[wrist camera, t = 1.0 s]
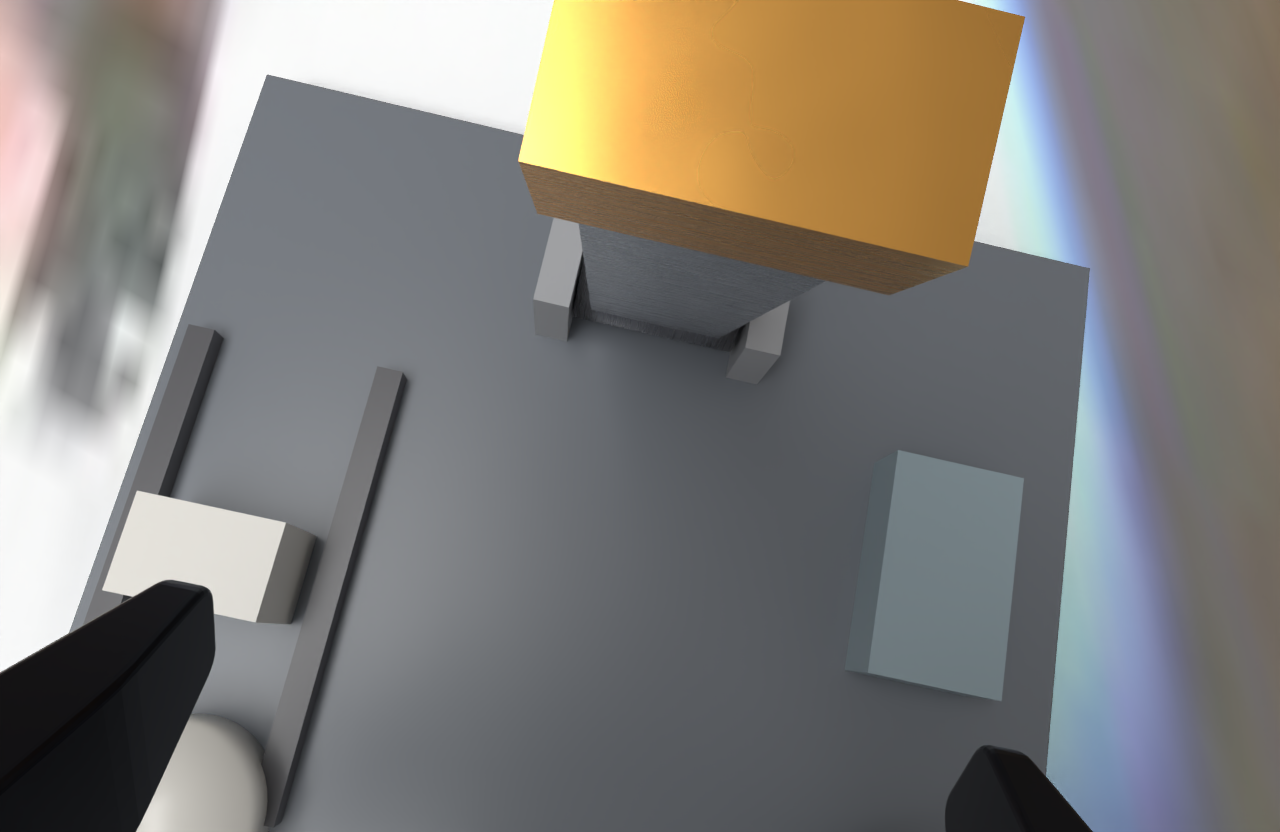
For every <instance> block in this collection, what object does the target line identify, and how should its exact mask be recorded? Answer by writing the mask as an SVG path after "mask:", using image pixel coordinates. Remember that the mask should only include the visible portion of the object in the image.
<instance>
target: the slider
mask: <svg viewBox="0 0 1280 832" xmlns="http://www.w3.org/2000/svg"><path fill="white" fill-rule="evenodd" d="M316 537H317V536H315V535H313V534H311V533H309V532H306V531H304V530H302V529H299V528H297V527H295V526H293V525H290V524H288V523H286V522H281V521H276V520H272V519H267V518H262V517H258V516H253V515H248V514H244V513H239V512H235V511H230V510H225V509H221V508H216V507H211V506H207V505H202V504H197V503H193V502H188V501H183V500H179V499H174V498H169V497H165V496H160V495H156V494H151V493H146V492H142V491H137V492H136V494H135V497H134V500H133V503H132V506H131V509H130V512H129V514H128V517H127V520H126V523H125V526H124V529H123V532H122V534H121V537H120V540H119V543H118V546H117V549H116V552H115V555H114V557H113V560H112V563H111V566H110V569H109V572H108V575H107V577H106V580H105V583H104V586H103V589H102V590H103V591H108V592H113V593H118V594H122V595H127V596H132V597H133V596H135V595H137V594H139V593H140V592H142V591H144V590H146V589H147V588H149V587H151V586H153V585H154V584H156V583H158V582H161V581H164V580H177V581H182V582H187V583H192V584H197V585H201V586H205V587H207V588H208V589H209V590H210V591H211V593H212V596H213V604H214V614H217V615H222V616H227V617H232V618H237V619H241V620H246V621H251V622H256V623H274V624H291V621H292V618H293V615H294V611H295V608H296V604H297V601H298V598H299V594H300V591H301V588H302V584H303V581H304V577H305V574H306V571H307V567H308V564H309V560H310V557H311V554H312V550H313V547H314V544H315V540H316Z"/></svg>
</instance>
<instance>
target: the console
mask: <svg viewBox="0 0 1280 832" xmlns="http://www.w3.org/2000/svg"><path fill="white" fill-rule="evenodd" d="M523 138H524V135H521V134H517V133H513V132H509V131H504V130H500V129H496V128H492V127H488V126H483V125H479V124H475V123H471V122H466V121H462V120H458V119H454V118H449V117H445V116H441V115H437V114H432V113H428V112H424V111H420V110H415V109H411V108H407V107H403V106H398V105H394V104H390V103H386V102H381V101H377V100H373V99H369V98H365V97H360V96H356V95H352V94H348V93H343V92H339V91H335V90H331V89H326V88H322V87H318V86H314V85H309V84H305V83H301V82H297V81H292V80H288V79H284V78H280V77H275V76H271V75H267V76H266V79H265V82H264V85H263V87H262V90H261V93H260V96H259V99H258V102H257V104H256V107H255V110H254V113H253V116H252V118H251V121H250V124H249V127H248V130H247V133H246V135H245V138H244V141H243V144H242V147H241V149H240V152H239V155H238V158H237V161H236V164H235V166H234V169H233V172H232V175H231V178H230V180H229V183H228V186H227V189H226V192H225V195H224V197H223V200H222V203H221V206H220V209H219V212H218V214H217V217H216V220H215V223H214V226H213V228H212V231H211V234H210V237H209V240H208V243H207V245H206V248H205V251H204V254H203V257H202V259H201V262H200V265H199V268H198V271H197V274H196V276H195V279H194V282H193V285H192V288H191V291H190V293H189V296H188V299H187V302H186V305H185V307H184V310H183V313H182V316H181V319H180V322H179V324H178V327H177V330H176V333H175V336H174V338H173V341H172V344H171V347H170V350H169V353H168V355H167V358H166V361H165V364H164V367H163V369H162V372H161V375H160V378H159V381H158V384H157V386H156V389H155V392H154V395H153V398H152V401H151V403H150V406H149V409H148V412H147V415H146V417H145V420H144V423H143V426H142V429H141V432H140V434H139V437H138V440H137V443H136V446H135V448H134V451H133V454H132V457H131V460H130V463H129V465H128V468H127V471H126V474H125V477H124V480H123V482H122V485H121V488H120V491H119V494H118V496H117V499H116V502H115V505H114V508H113V511H112V513H111V516H110V519H109V522H108V525H107V527H106V530H105V533H104V536H103V539H102V542H101V544H100V547H99V550H98V553H97V556H96V558H95V561H94V564H93V567H92V570H91V573H90V575H89V578H88V581H87V584H86V587H85V590H84V592H83V595H82V598H81V601H80V604H79V606H78V609H77V612H76V615H75V618H74V621H73V623H72V626H71V629H70V632H72V631H74V630H75V629H77V628H79V627H81V626H82V625H84V624H86V623H88V622H89V621H91V620H93V619H95V618H96V617H98V616H100V615H102V614H103V613H105V612H107V611H109V610H111V609H112V608H114V607H116V606H118V605H119V604H121V603H123V602H125V601H126V600H128V599H130V598H132V596H127V595H122V594H118V593H113V592H108V591H103V590H102V589H103V586H104V583H105V580H106V577H107V575H108V572H109V569H110V566H111V563H112V560H113V557H114V555H115V552H116V549H117V546H118V543H119V540H120V537H121V534H122V532H123V529H124V526H125V523H126V520H127V517H128V514H129V512H130V509H131V506H132V503H133V500H134V497H135V494H136V492H137V491H142V492H146V493H151V494H156V495H160V496H165V497H169V498H174V499H179V500H183V501H188V502H193V503H197V504H202V505H207V506H211V507H216V508H221V509H225V510H230V511H235V512H239V513H244V514H248V515H253V516H258V517H262V518H267V519H272V520H276V521H281V522H286V523H288V524H290V525H293V526H295V527H297V528H299V529H302V530H304V531H306V532H309V533H311V534H313V535H315V536H317V537H316V540H315V544H314V547H313V550H312V554H311V557H310V560H309V564H308V567H307V571H306V574H305V577H304V581H303V584H302V588H301V591H300V594H299V598H298V601H297V604H296V608H295V611H294V615H293V618H292V621H291V624H274V623H256V622H251V621H246V620H241V619H237V618H232V617H227V616H222V615H217V614H214V623H215V642H216V651H215V658H214V662H213V665H212V668H211V671H210V674H209V676H208V678H207V681H206V683H205V685H204V687H203V689H202V691H201V694H200V696H199V698H198V700H197V702H196V705H195V707H194V709H193V711H192V713H191V715H190V718H189V720H188V722H187V724H186V726H185V729H184V731H183V733H182V735H181V737H180V740H179V742H178V744H177V746H176V748H175V750H174V753H173V755H172V757H171V759H170V761H169V764H168V766H167V768H166V770H165V772H164V774H163V777H162V779H161V781H160V783H159V785H158V788H157V790H156V792H155V794H154V796H153V799H152V801H151V803H150V805H149V807H148V809H147V811H146V813H145V815H144V817H143V819H142V821H141V823H140V825H139V827H138V829H137V831H136V832H945V807H946V802H947V799H948V796H949V794H950V792H951V790H952V788H953V787H954V785H955V783H956V782H957V780H958V778H959V777H960V775H961V774H962V772H963V770H964V769H965V767H966V765H967V764H968V762H969V760H970V759H971V757H972V756H973V754H974V752H975V751H976V750H977V749H978V748H979V747H981V746H983V745H993V746H998V747H1003V748H1008V749H1013V750H1017V751H1020V752H1023V753H1025V754H1026V755H1027V756H1028V757H1029V758H1030V759H1031V760H1032V761H1033V762H1034V763H1035V764H1036V765H1037V766H1038V768H1039V769H1040V770H1041V771H1042V772H1043V773H1044V775H1045V776H1046V766H1047V754H1048V743H1049V731H1050V720H1051V708H1052V697H1053V685H1054V674H1055V662H1056V651H1057V639H1058V628H1059V616H1060V605H1061V593H1062V582H1063V570H1064V559H1065V547H1066V536H1067V525H1068V513H1069V502H1070V490H1071V479H1072V467H1073V456H1074V444H1075V433H1076V421H1077V410H1078V398H1079V387H1080V375H1081V364H1082V352H1083V341H1084V329H1085V318H1086V306H1087V295H1088V283H1089V272H1090V268H1086V267H1081V266H1077V265H1073V264H1069V263H1064V262H1060V261H1056V260H1052V259H1047V258H1043V257H1039V256H1035V255H1030V254H1026V253H1022V252H1018V251H1013V250H1009V249H1005V248H1001V247H996V246H992V245H988V244H984V243H980V242H975V241H974V243H973V248H972V252H971V257H970V261H969V265H968V267H966V268H963V269H960V270H958V271H955V272H952V273H949V274H947V275H944V276H941V277H938V278H936V279H933V280H930V281H927V282H925V283H922V284H919V285H916V286H914V287H911V288H908V289H905V290H903V291H900V292H897V293H894V294H892V295H885V294H881V293H877V292H872V291H868V290H864V289H859V288H855V287H851V286H846V285H842V284H838V283H834V282H829V281H825V282H824V283H822V284H820V285H818V286H816V287H814V288H812V289H810V290H809V291H807V292H805V293H803V294H801V295H799V296H797V297H795V298H793V299H792V300H790V301H788V302H786V303H784V304H782V305H780V306H778V307H777V308H775V309H773V310H771V311H769V312H767V313H765V314H763V315H762V316H760V317H758V318H756V319H754V320H752V321H750V322H748V323H747V324H745V325H743V326H741V327H740V328H739V331H738V335H737V338H736V341H735V343H734V346H733V348H732V350H731V351H730V352H726V351H722V350H717V349H713V348H709V347H704V346H700V345H695V344H691V343H687V342H682V341H678V340H673V339H669V338H665V337H660V336H656V335H652V334H647V333H643V332H638V331H634V330H630V329H625V328H621V327H616V326H612V325H608V324H603V323H599V322H594V321H590V320H586V319H581V318H577V317H573V311H574V304H575V298H576V293H577V288H578V283H579V279H580V274H581V270H582V265H583V261H584V257H583V250H582V243H581V237H580V230H579V223H575V222H571V221H567V220H562V219H558V218H554V217H549V216H545V215H541V214H537V211H536V208H535V206H534V203H533V200H532V197H531V195H530V192H529V189H528V186H527V184H526V181H525V178H524V175H523V172H522V170H521V167H520V164H519V156H520V152H521V147H522V143H523ZM70 632H69V633H70Z"/></svg>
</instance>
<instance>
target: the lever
mask: <svg viewBox="0 0 1280 832" xmlns="http://www.w3.org/2000/svg"><path fill="white" fill-rule="evenodd" d="M1024 19H1025V17H1024V16H1019V15H1015V14H1011V13H1007V12H1003V11H999V10H995V9H991V8H987V7H983V6H979V5H975V4H971V3H967V2H963V1H959V0H554V3H553V8H552V12H551V17H550V21H549V26H548V30H547V35H546V39H545V44H544V48H543V53H542V57H541V62H540V66H539V71H538V75H537V80H536V84H535V89H534V93H533V98H532V102H531V107H530V111H529V116H528V120H527V125H526V129H525V134H524V138H523V143H522V147H521V152H520V156H519V164H520V167H521V170H522V172H523V175H524V178H525V181H526V184H527V186H528V189H529V192H530V195H531V197H532V200H533V203H534V206H535V208H536V211H537V214H541V215H545V216H549V217H554V218H558V219H562V220H567V221H571V222H575V223H579V230H580V237H581V243H582V250H583V257H584V261H583V265H582V270H581V274H580V279H579V283H578V288H577V293H576V298H575V304H574V311H573V317H577V318H581V319H586V320H590V321H594V322H599V323H603V324H608V325H612V326H616V327H621V328H625V329H630V330H634V331H638V332H643V333H647V334H652V335H656V336H660V337H665V338H669V339H673V340H678V341H682V342H687V343H691V344H695V345H700V346H704V347H709V348H713V349H717V350H722V351H726V352H730V351H731V350H732V348H733V346H734V343H735V341H736V338H737V335H738V331H739V328H740V327H741V326H743V325H745V324H747V323H748V322H750V321H752V320H754V319H756V318H758V317H760V316H762V315H763V314H765V313H767V312H769V311H771V310H773V309H775V308H777V307H778V306H780V305H782V304H784V303H786V302H788V301H790V300H792V299H793V298H795V297H797V296H799V295H801V294H803V293H805V292H807V291H809V290H810V289H812V288H814V287H816V286H818V285H820V284H822V283H824V282H825V281H829V282H834V283H838V284H842V285H846V286H851V287H855V288H859V289H864V290H868V291H872V292H877V293H881V294H885V295H892V294H894V293H897V292H900V291H903V290H905V289H908V288H911V287H914V286H916V285H919V284H922V283H925V282H927V281H930V280H933V279H936V278H938V277H941V276H944V275H947V274H949V273H952V272H955V271H958V270H960V269H963V268H966V267H968V265H969V261H970V257H971V252H972V248H973V243H974V239H975V235H976V230H977V226H978V221H979V217H980V213H981V208H982V204H983V199H984V195H985V191H986V186H987V182H988V178H989V173H990V169H991V164H992V160H993V156H994V151H995V147H996V142H997V138H998V134H999V129H1000V125H1001V120H1002V116H1003V112H1004V107H1005V103H1006V98H1007V94H1008V90H1009V85H1010V81H1011V76H1012V72H1013V68H1014V63H1015V59H1016V54H1017V50H1018V46H1019V41H1020V37H1021V32H1022V28H1023V24H1024Z"/></svg>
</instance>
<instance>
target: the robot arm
mask: <svg viewBox="0 0 1280 832" xmlns="http://www.w3.org/2000/svg"><path fill="white" fill-rule="evenodd" d="M215 651H216V642H215V623H214V604H213V596H212V593H211V591H210V590H209V589H208V588H207V587H205V586H201V585H197V584H192V583H187V582H182V581H177V580H164V581H161V582H158V583H156V584H154V585H153V586H151V587H149V588H147V589H146V590H144V591H142V592H140V593H139V594H137V595H135V596H133V597H132V598H130V599H128V600H126V601H125V602H123V603H121V604H119V605H118V606H116V607H114V608H112V609H111V610H109V611H107V612H105V613H103V614H102V615H100V616H98V617H96V618H95V619H93V620H91V621H89V622H88V623H86V624H84V625H82V626H81V627H79V628H77V629H75V630H74V631H72V632H70V633H68V634H67V635H65V636H63V637H61V638H60V639H58V640H56V641H54V642H53V643H51V644H49V645H47V646H46V647H44V648H42V649H40V650H39V651H37V652H35V653H33V654H32V655H30V656H28V657H26V658H25V659H23V660H21V661H19V662H18V663H16V664H14V665H12V666H11V667H9V668H7V669H5V670H4V671H2V672H0V832H136V831H137V829H138V827H139V825H140V823H141V821H142V819H143V817H144V815H145V813H146V811H147V809H148V807H149V805H150V803H151V801H152V799H153V796H154V794H155V792H156V790H157V788H158V785H159V783H160V781H161V779H162V777H163V774H164V772H165V770H166V768H167V766H168V764H169V761H170V759H171V757H172V755H173V753H174V750H175V748H176V746H177V744H178V742H179V740H180V737H181V735H182V733H183V731H184V729H185V726H186V724H187V722H188V720H189V718H190V715H191V713H192V711H193V709H194V707H195V705H196V702H197V700H198V698H199V696H200V694H201V691H202V689H203V687H204V685H205V683H206V681H207V678H208V676H209V674H210V671H211V668H212V665H213V662H214V658H215ZM945 832H1093V831H1092V830H1091V829H1090V828H1089V827H1088V826H1087V824H1086V823H1085V822H1084V821H1083V820H1082V818H1081V817H1080V816H1079V815H1078V814H1077V812H1076V811H1075V810H1074V809H1073V808H1072V807H1071V805H1070V804H1069V803H1068V802H1067V801H1066V799H1065V798H1064V797H1063V796H1062V795H1061V794H1060V792H1059V791H1058V790H1057V789H1056V788H1055V786H1054V785H1053V784H1052V783H1051V782H1050V781H1049V779H1048V778H1047V777H1046V776H1045V775H1044V773H1043V772H1042V771H1041V770H1040V769H1039V768H1038V766H1037V765H1036V764H1035V763H1034V762H1033V761H1032V760H1031V759H1030V758H1029V757H1028V756H1027V755H1026V754H1025V753H1023V752H1020V751H1017V750H1013V749H1008V748H1003V747H998V746H993V745H983V746H981V747H979V748H978V749H977V750H976V751H975V752H974V754H973V756H972V757H971V759H970V760H969V762H968V764H967V765H966V767H965V769H964V770H963V772H962V774H961V775H960V777H959V778H958V780H957V782H956V783H955V785H954V787H953V788H952V790H951V792H950V794H949V796H948V799H947V802H946V807H945Z"/></svg>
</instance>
